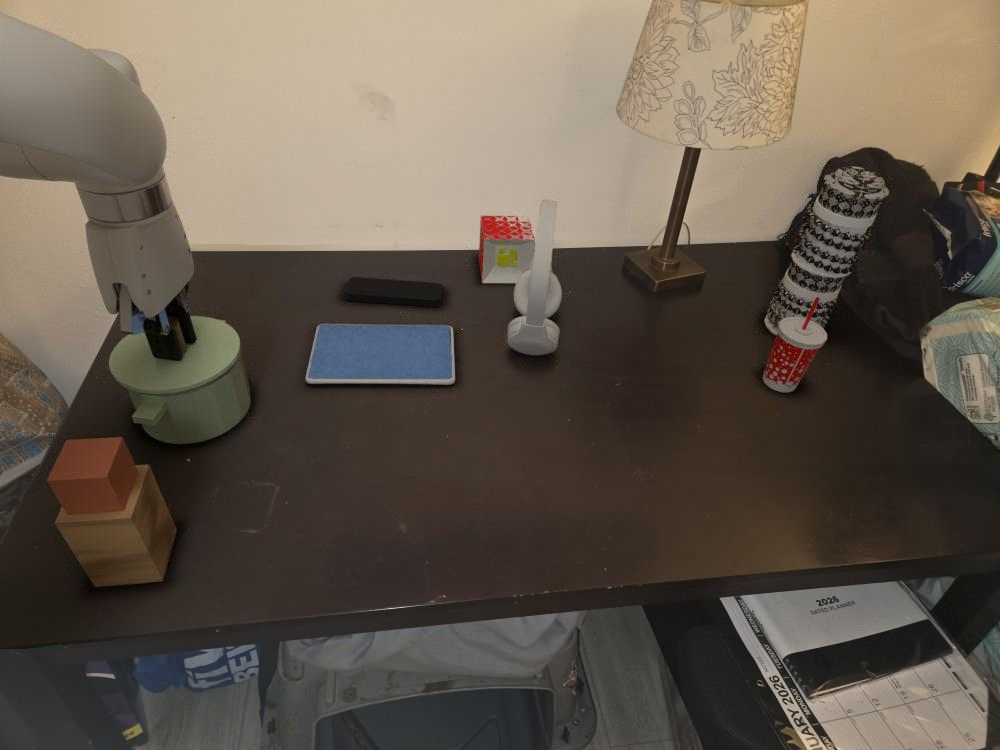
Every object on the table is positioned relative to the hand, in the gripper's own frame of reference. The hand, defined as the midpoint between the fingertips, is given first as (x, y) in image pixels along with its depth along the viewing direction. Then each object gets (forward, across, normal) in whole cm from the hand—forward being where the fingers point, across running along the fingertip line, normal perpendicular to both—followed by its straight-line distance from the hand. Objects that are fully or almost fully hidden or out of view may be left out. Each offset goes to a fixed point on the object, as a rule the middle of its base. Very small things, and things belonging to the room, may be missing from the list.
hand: (175, 348), depth 73 cm
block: (0, +21, +4) cm, 21 cm away
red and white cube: (+9, -40, +34) cm, 53 cm away
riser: (+10, +20, +4) cm, 23 cm away
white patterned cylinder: (+9, -33, +80) cm, 87 cm away
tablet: (+9, -14, +20) cm, 26 cm away
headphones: (+9, -23, +40) cm, 47 cm away
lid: (+1, 0, 0) cm, 1 cm away
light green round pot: (+9, 0, 0) cm, 9 cm away
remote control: (+9, -29, +18) cm, 35 cm away
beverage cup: (+9, -19, +75) cm, 78 cm away
